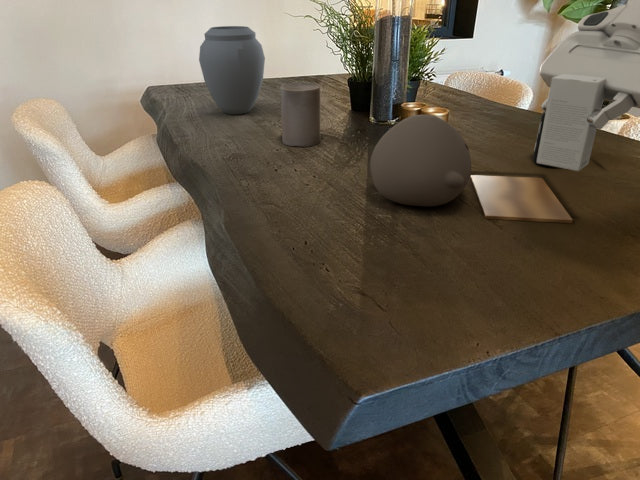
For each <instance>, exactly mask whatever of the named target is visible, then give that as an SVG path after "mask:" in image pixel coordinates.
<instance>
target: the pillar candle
mask: <svg viewBox="0 0 640 480" xmlns="http://www.w3.org/2000/svg"><path fill="white" fill-rule="evenodd" d="M299 81H300V82H290V83H284V84H282V85H280V87H279V89H280V90H279V91H280V109H281V110H280V113H281V114H280V116H281V117H280V118H281V139H282V143H283V145H285V146H289V147H301V148H306V147H307V148H308V147H314V146H316V145H318V144H320V143H321V139H322V138H321V136H322V135H321V133H322V132H321V85H319V84H317V83H312V82H302V80H299Z"/></svg>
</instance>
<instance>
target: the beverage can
mask: <svg viewBox="0 0 640 480" xmlns="http://www.w3.org/2000/svg"><path fill="white" fill-rule="evenodd" d="M544 119H545V113H544V112H543V111H542V113H541V115H540V121H539V124H538V130H537V135H536V139H535V144H534V150H533V155H532V161H533V162H534V164H535V165H537V166H539V167H542V168H549V169H556V168H558V167H554V166H549V165H544V164H539V163H537V156H538V151H539V145H540V140H541V134H542V129H543V124H544Z"/></svg>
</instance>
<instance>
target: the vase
mask: <svg viewBox="0 0 640 480" xmlns="http://www.w3.org/2000/svg"><path fill="white" fill-rule="evenodd" d="M203 34H204V40H203V42H202V43H201V45H200V46H199V55H198V62H199V65H200V69H201V73H202V77H203V81H204V83H205V86H206V88H207V90H208V92H209V94H210V96H211V98H212V100H213V101H214V102H215V104H216V106H217V107H218V108H219V109H220V110H221V111H222V112H223V113H224V114H227V115H244V114H247V113H249V112H250V111H251V110H252V109H253V107H254V106H255V104H256V102H257V100H258V98H259V96H260V92H261V89H262V88H261V87H262V84H263V80H264V74H265V73H264V72H265V63H266V61H265V60H266V57H265V54H264V50H263V45H262V44H261V42H260V41H259V40H258V39H257V38H256V32H255V31H254V30H253V29H251V27H249V26H245V25H244V26H243V25H242V26H241V25H225V26H223V25H222V26H212V27H210V28H209V29H208V30H207V31H206V32H205V33H203ZM243 113H244V114H243Z"/></svg>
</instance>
